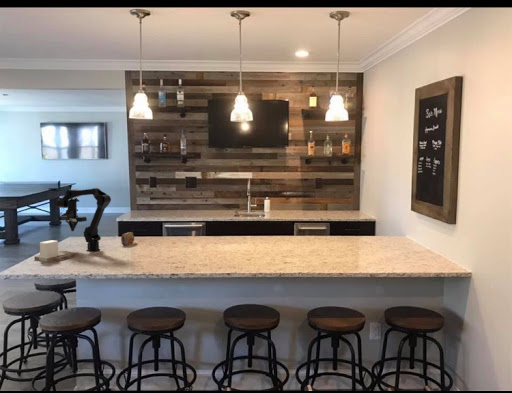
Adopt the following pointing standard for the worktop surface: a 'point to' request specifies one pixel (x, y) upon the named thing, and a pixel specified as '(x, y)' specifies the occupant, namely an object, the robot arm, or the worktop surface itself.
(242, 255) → the worktop surface
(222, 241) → the worktop surface
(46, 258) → the pad
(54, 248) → the cream block
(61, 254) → the trap board
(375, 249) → the worktop surface
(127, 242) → the tin
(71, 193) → the robot arm
